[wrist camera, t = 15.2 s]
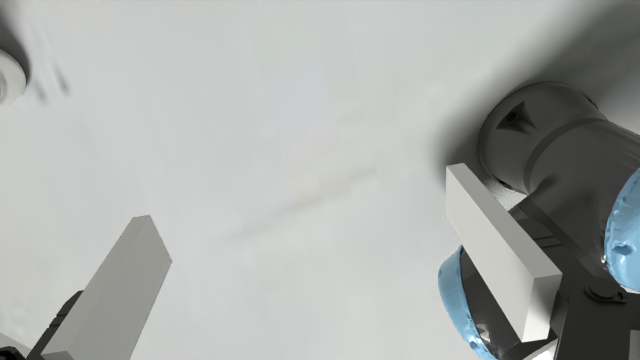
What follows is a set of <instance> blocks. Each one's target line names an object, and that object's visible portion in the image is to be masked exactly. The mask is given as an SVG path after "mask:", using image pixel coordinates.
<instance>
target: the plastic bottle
mask: <svg viewBox="0 0 640 360" xmlns="http://www.w3.org/2000/svg"><path fill="white" fill-rule="evenodd" d="M25 88H26V78H25V74H24V71H23V69H22V67H21V66H20V64H19V63H18V62H17V61H16V60H15V59H14V58H13V57H12V56H11V55H9V54H8V53H6V52H5V51H3V50H1V49H0V107H2V106H6V105H9V104H11V103H13V102H14V101H16V100H17V99H18V98H19V97H21V96H22V94H23V93H24V91H25Z"/></svg>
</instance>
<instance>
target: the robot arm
mask: <svg viewBox="0 0 640 360" xmlns="http://www.w3.org/2000/svg"><path fill="white" fill-rule="evenodd" d="M478 156H479V160H480V163H481V165H482V167H483V169H484V170H485V171H486V172H487V173H488V174H489V175H490V176H491V177H492V179H494V180H495V181H496V182H497V183H498V184H500V185H502V186H504V187H506V188H508V189H511V190H514V191H516V192H519V193H522V194H524V195H527V197H526V198H525V199H523V200H522V201H521V202H519V203H518V204H516V205H515V206H514V207H513V208H511V209H510V210H509V211H506V209H505V208H504V207H503V206H502V205H501V204H500V203H499V202H498V200H497V199H496V198H495V197H494V196H493V195H492V194H491V193H490V191H489V190H488V189H487V188H486V187H485V186H484V185H483V184H482V183H481V181H480V180H479V179H478V178H477V177H476V176H475V175H474V174H473V172H472V171H471V170H470V169H469V168H468V167H467V166H466V165H465V163H460V164H454V165H448V166H446V209H445V218H446V219H447V221H448V222H449V224H450V226H451V227H452V229H453V231H454V232H455V234H456V236H457V237H458V239H459V240H460V242H461V244H462V245H461V246H460V247H459V249H458V250H457V251H456V252H455V253H454V254H453V255H452V256H451V257H449V258H448V259H447V260H446V261H445V262H444V263H443V264H442V265H441V267H440V269H439V274H438V286H439V291H440V295H441V298H442V301H443V303H444V306H445V308H446V310H447V312H448V314H449V316H450V318H451V320H452V322H453V324H454V325H455V327H456V329H457V330H458V332H459V333H460V335H461V336H462V338H463V339H464V340H465V341H466V342H469V344H470V346H471V348H472V350H473V351H474V352H475V353H476V354H477V355H478V356H479V357H481V358H482V359H484V360H640V294H636V293H629V292H626V290H625V289H624V288H622V287H621V286H620V285H622V286H624V287H627V288H630V289H632V290H635V291H638V292H640V135H638V134H636V133H634V132H632V131H629V130H627V129H625V128H623V127H621V126H618V125H616V124H614V123H612V122H610V121H608V120H607V118H606V117H605V116H604V115H603V114H602V113H600V112H599V111H598V108H597V106H596V105H595V103H594V102H593V101H592V99H591V98H590V97H589V96H588V95H586V94H585V93H583V92H582V91H580V90H578V89H576V88H573V87H571V86H568V85H566V84H563V83H558V82H542V83H537V84H533V85H530V86H527V87H524V88H522V89H520V90H518V91H516V92H514V93H513V94H511V95H510V96H508V97H507V98H506V99H504V100H503V101H502V102H501V103H500V104H499V105H498V106H497V107H496V108H495V109H494V110H493V111H492V113H491V114H490V115H489V117H488V118H487V120H486V122H485V123H484V125H483V128H482V130H481V133H480V136H479V140H478ZM171 263H172V260H171V258H170V256H169V254H168V252H167V249H166V247H165V245H164V243H163V241H162V239H161V237H160V235H159V233H158V231H157V229H156V227H155V225H154V222H153V220H152V218H151V216H150V215H146V216H140V217H134V218H132V220H131V221H130V223H129V224H128V226H127V227H126V229H125V230H124V232H123V233H122V235H121V236H120V238H119V239H118V241H117V242H116V243H115V245H114V246H113V248H112V249H111V251H110V252H109V254H108V255H107V257H106V258H105V260H104V261H103V263H102V264H101V266H100V267H99V269H98V270H97V272H96V273H95V275H94V276H93V278H92V279H91V280H90V282H89V283H88V285H87V286H86V288H85V289H84V290H82V291H78V292H77V293H76V294H74V295H73V296H72V297H71V298H70V299H69V300H68V301H67V302H66V303H65V304H64V305H63V307H62V308H61V309H60V311H59V312H58V314H57V315H56V316H57V317H56V318H54V319H53V321H52V322H51V324H50V325H49V328H47V329H46V331H45V332H44V333H43V335H42V336H41V338H40V339H39V341H38V342H37V343H36V345H35V346H34V348H33V349H32V350H31V352H30V353H29V355H28V356H27V358H26V359H25V358H24V357H23V356H22V354H21V353H20V352H19V351H18V350H17V349H16V348H15V347H10V346H8V347H3V348H0V360H129V359H130V357H131V355H132V353H133V350H134V348H135V346H136V343H137V341H138V339H139V337H140V334H141V332H142V330H143V327H144V325H145V323H146V320H147V318H148V316H149V314H150V311H151V309H152V307H153V304H154V302H155V300H156V297H157V295H158V293H159V291H160V288H161V286H162V284H163V281H164V279H165V277H166V275H167V272H168V270H169V268H170V265H171Z"/></svg>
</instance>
